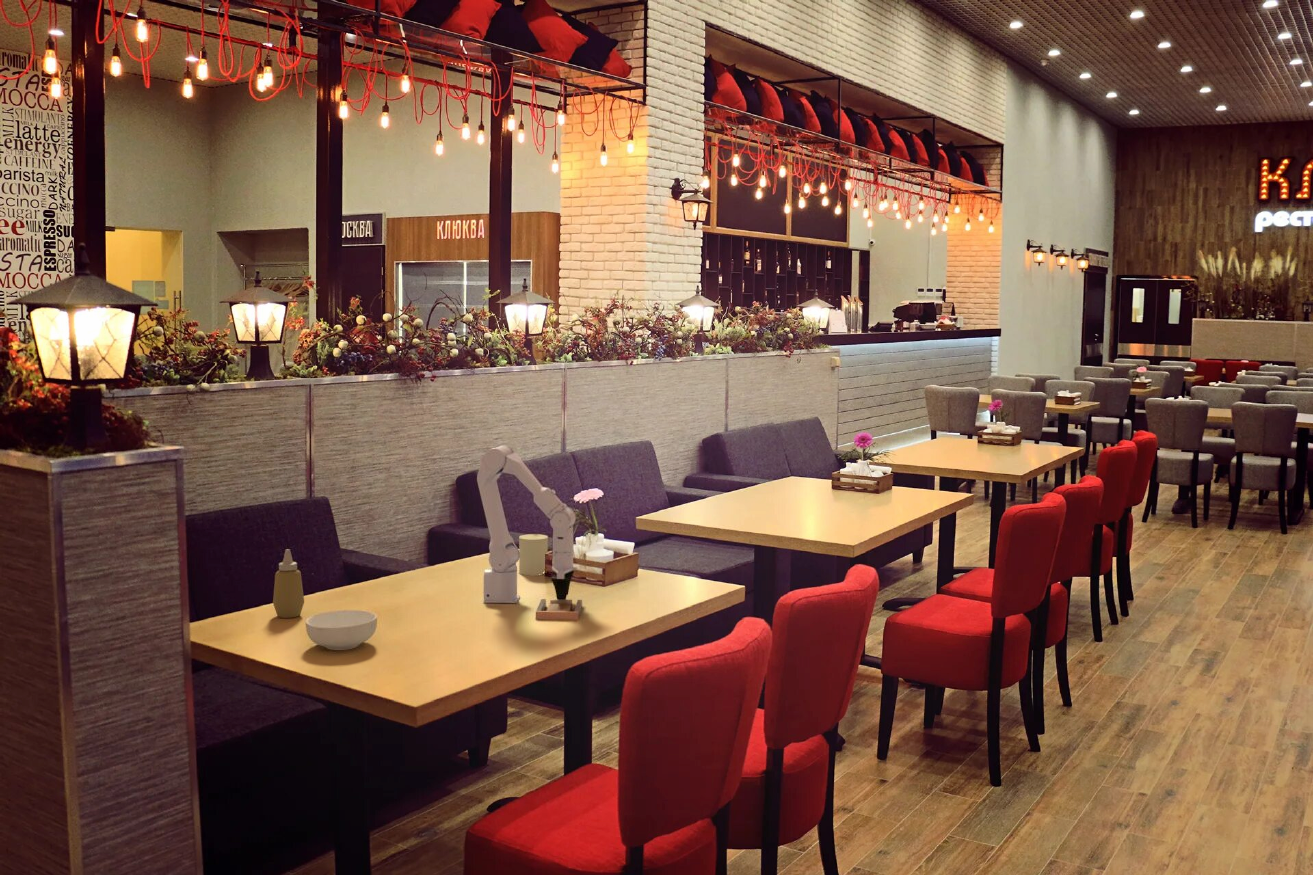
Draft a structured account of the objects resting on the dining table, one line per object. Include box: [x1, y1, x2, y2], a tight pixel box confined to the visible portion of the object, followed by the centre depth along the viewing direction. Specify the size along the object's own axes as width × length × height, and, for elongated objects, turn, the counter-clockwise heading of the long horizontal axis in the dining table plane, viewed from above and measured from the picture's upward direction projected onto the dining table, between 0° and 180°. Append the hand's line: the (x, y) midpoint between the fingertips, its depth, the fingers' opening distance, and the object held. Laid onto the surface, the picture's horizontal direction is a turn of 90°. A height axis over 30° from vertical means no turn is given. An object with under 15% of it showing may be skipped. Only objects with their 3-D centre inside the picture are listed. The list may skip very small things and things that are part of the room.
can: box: [518, 533, 549, 576], centre depth 368 cm, size 9×9×12 cm
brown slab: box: [546, 598, 573, 611], centre depth 320 cm, size 6×10×2 cm, turn 179°
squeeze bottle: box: [272, 548, 305, 619], centre depth 311 cm, size 8×8×18 cm
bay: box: [535, 598, 583, 621], centre depth 319 cm, size 11×14×2 cm
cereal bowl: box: [305, 609, 378, 651], centre depth 285 cm, size 17×17×7 cm
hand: (562, 598), depth 329 cm, fingers open, 7 cm apart
